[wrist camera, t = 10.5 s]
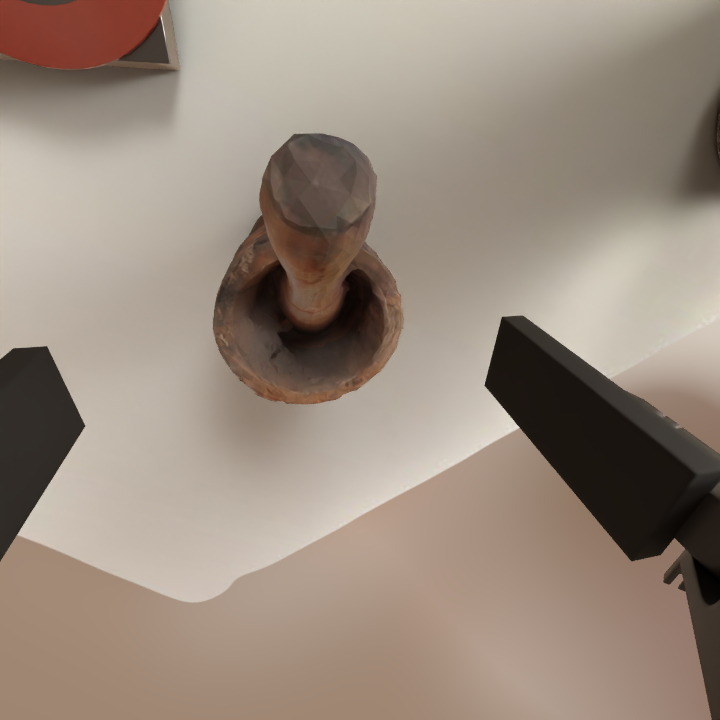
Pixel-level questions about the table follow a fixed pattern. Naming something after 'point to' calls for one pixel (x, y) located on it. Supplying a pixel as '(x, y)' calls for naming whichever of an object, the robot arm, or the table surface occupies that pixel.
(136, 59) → the stove
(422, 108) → the table surface
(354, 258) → the mortar and pestle
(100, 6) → the burner
